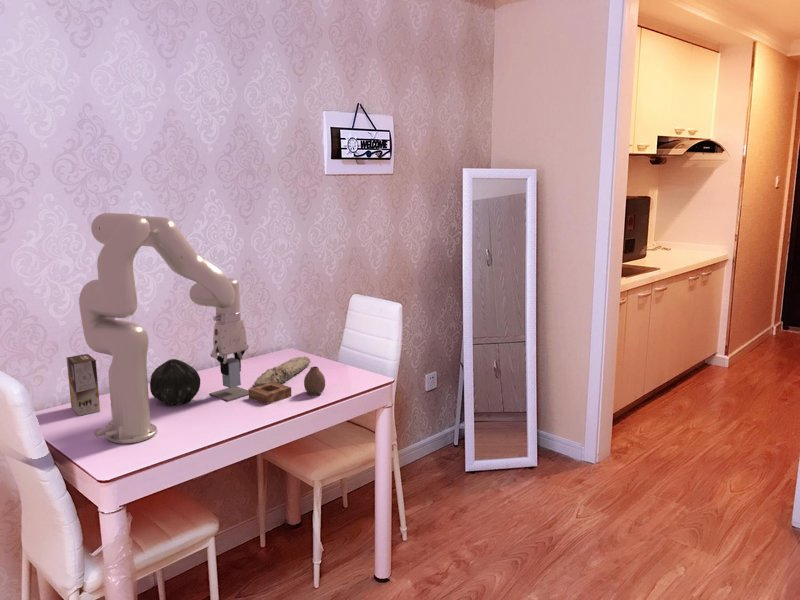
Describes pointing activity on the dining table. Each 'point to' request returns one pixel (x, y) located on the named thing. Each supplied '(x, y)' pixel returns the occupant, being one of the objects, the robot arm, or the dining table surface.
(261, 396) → the socket block
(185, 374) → the squash
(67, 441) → the dining table surface
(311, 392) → the vase
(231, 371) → the plug
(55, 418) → the dining table surface
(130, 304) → the robot arm
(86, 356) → the coffee box
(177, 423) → the dining table surface
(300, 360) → the brown bread loaf
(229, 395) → the coaster
